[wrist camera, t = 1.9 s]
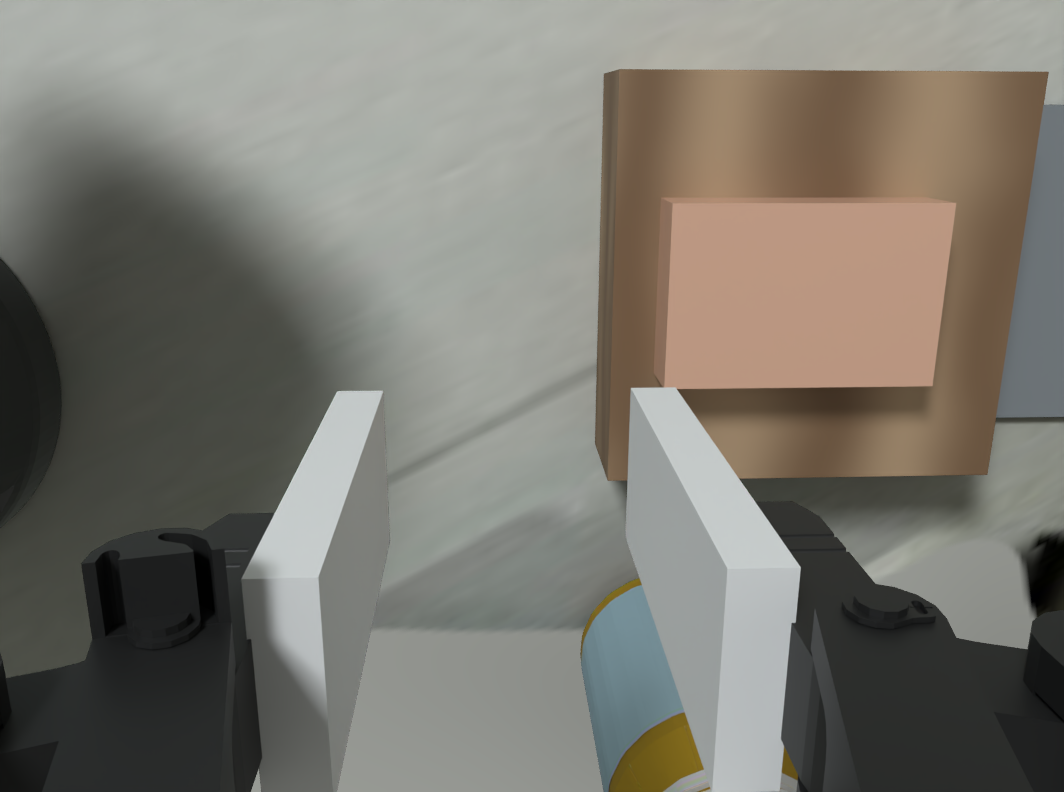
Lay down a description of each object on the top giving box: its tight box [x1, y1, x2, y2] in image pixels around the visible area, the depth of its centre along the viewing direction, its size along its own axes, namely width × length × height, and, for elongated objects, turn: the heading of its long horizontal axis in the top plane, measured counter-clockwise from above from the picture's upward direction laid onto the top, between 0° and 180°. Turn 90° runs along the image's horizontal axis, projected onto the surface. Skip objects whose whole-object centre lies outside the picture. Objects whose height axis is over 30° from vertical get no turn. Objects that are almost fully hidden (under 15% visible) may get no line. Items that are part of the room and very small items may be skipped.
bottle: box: [581, 578, 798, 792], centre depth 34 cm, size 7×7×15 cm
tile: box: [654, 197, 956, 389], centre depth 31 cm, size 9×6×2 cm, turn 90°
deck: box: [595, 69, 1049, 481], centre depth 34 cm, size 14×14×4 cm
